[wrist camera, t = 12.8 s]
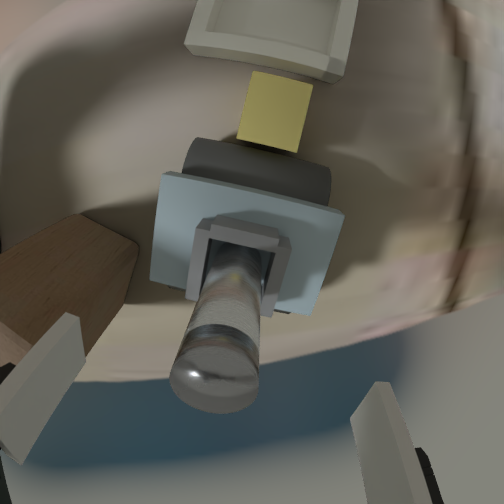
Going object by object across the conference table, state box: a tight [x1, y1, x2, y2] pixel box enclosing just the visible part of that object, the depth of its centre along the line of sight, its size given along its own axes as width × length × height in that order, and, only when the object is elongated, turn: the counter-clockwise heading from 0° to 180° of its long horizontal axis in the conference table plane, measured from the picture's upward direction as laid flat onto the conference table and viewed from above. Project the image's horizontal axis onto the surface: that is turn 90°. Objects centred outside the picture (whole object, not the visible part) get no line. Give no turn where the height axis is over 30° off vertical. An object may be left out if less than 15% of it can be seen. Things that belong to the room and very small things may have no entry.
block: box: [0, 214, 139, 367], centre depth 24 cm, size 10×10×20 cm
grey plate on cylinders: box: [150, 137, 345, 317], centre depth 26 cm, size 14×15×12 cm
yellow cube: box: [236, 71, 313, 153], centre depth 24 cm, size 5×6×6 cm
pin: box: [169, 242, 262, 413], centre depth 17 cm, size 4×4×13 cm
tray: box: [184, 0, 359, 84], centre depth 21 cm, size 15×12×4 cm
